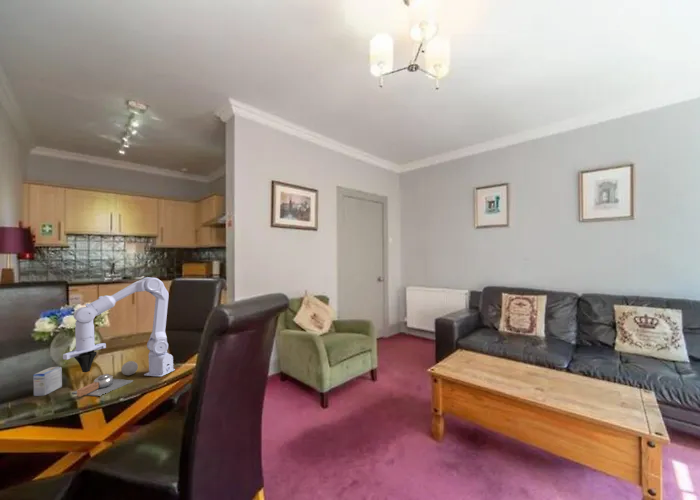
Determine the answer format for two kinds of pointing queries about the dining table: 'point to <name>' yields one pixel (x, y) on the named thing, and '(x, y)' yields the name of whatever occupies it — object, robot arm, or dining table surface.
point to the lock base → (108, 387)
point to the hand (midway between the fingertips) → (86, 371)
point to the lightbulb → (129, 368)
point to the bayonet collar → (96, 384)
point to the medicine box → (47, 381)
